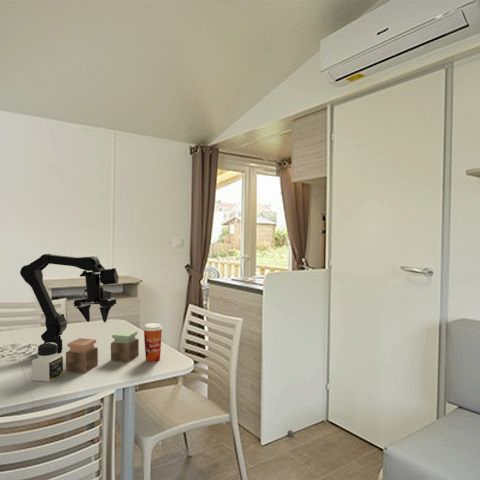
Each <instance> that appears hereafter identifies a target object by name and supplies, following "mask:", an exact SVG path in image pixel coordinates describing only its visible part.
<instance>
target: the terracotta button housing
mask: <svg viewBox="0 0 480 480" xmlns="http://www.w3.org/2000/svg"><path fill="white" fill-rule="evenodd" d="M98 351H99V349H98V347H96V346H94V349H92V350H90V351H88V352H86V353H73V352H70V350H68V351H66V352H65V372H71V373H79V374H80V373H81V374H83V373H84V374H87V373H88V372H89V371H92V370H93V369H94V368H96V367H97V366H98V365H99V360H98V359H99V354H98V353H99V352H98Z"/></svg>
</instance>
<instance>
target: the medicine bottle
mask: <svg viewBox="0 0 480 480" xmlns="http://www.w3.org/2000/svg"><path fill="white" fill-rule="evenodd" d="M63 356H64V355H62V354H58V353H57V344H56V343H44V342H43V343H41V344H40V345H38V346H37V357H36V358H34V359H32V360H31V378H32V379H31V380H32V381H36V382H48V383H50V382H52V381H54V380H56V379H57V378H59V377H61V376H63V374H64V373H63V372H64V359H63V358H64V357H63Z"/></svg>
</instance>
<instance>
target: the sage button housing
mask: <svg viewBox="0 0 480 480" xmlns="http://www.w3.org/2000/svg"><path fill="white" fill-rule="evenodd" d="M139 343H140V342H139V338H135V340H134V341H133V342H131V343H129V344H122V343H114V341H112V342H110V361H113V362H115V361H116V362H123V363H124V362H125V363H126V362H127V363H130V362H131V361H133V360H134V359H136V358H137V357H138V356H140V354H139V345H140V344H139Z"/></svg>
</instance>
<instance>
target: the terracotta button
mask: <svg viewBox="0 0 480 480" xmlns="http://www.w3.org/2000/svg"><path fill="white" fill-rule="evenodd" d="M95 344H97V339H94V338H83V337H82V338H81V337H79V338H78V339H75V340H72V341H71V342H68V343H67V347H68V348H69V351H70V352H73V353H86V352H88V351H90V350H92V349H94V347H95Z"/></svg>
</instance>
